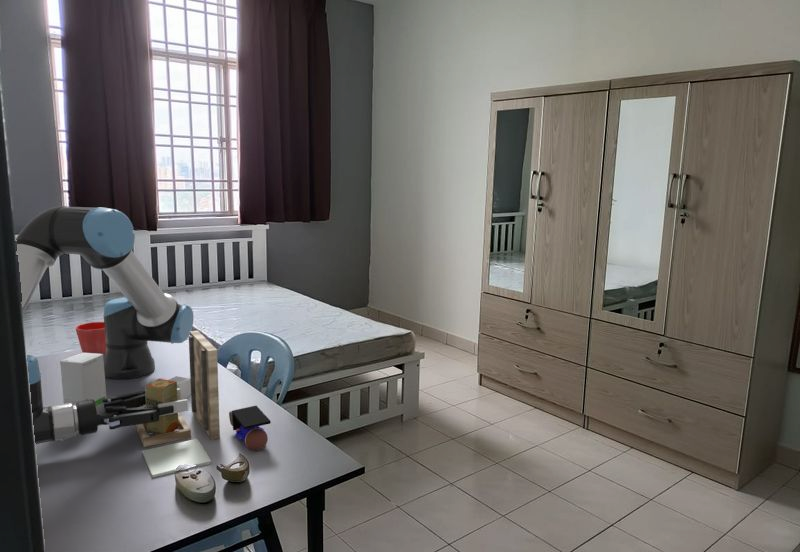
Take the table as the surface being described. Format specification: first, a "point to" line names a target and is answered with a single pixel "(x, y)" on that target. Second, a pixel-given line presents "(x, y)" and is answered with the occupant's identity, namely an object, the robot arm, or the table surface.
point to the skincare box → (83, 378)
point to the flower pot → (92, 337)
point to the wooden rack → (196, 394)
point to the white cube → (183, 386)
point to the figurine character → (250, 426)
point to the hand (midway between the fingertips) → (183, 399)
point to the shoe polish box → (160, 394)
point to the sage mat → (175, 457)
